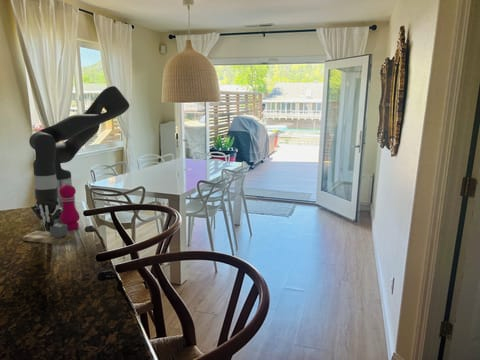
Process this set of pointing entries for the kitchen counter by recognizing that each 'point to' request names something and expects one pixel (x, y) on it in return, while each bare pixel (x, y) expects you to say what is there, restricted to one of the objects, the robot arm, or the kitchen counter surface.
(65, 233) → the selector knob
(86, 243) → the kitchen counter surface
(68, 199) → the pepper mill
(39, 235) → the selector board
